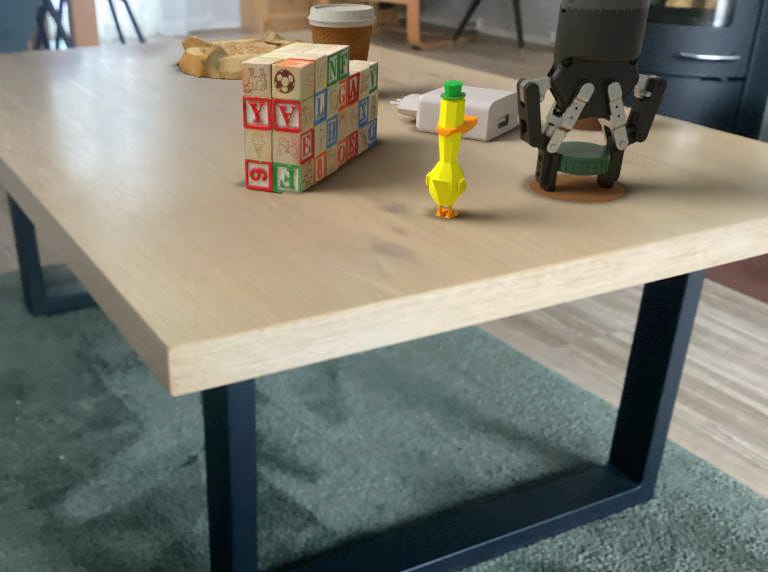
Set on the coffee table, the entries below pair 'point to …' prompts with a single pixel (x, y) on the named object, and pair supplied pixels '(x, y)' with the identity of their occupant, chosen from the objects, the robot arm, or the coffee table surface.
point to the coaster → (579, 189)
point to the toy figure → (450, 149)
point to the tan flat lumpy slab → (226, 54)
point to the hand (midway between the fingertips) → (575, 186)
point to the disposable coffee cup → (343, 27)
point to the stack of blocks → (305, 114)
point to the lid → (583, 158)
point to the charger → (486, 104)
